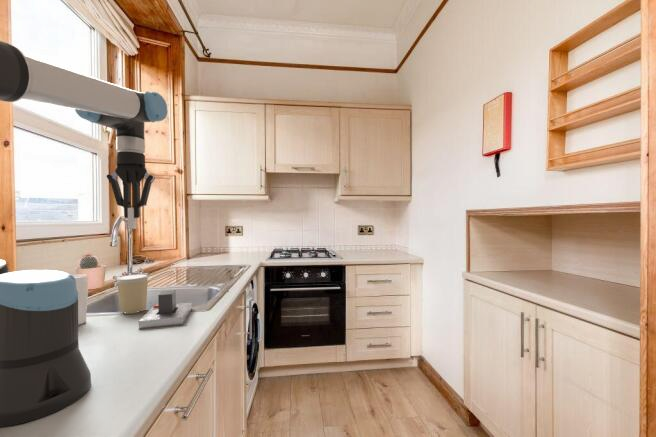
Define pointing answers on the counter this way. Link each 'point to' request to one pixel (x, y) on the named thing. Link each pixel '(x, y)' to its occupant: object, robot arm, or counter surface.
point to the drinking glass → (82, 296)
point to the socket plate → (165, 317)
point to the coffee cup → (132, 293)
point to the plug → (167, 302)
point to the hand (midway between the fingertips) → (132, 228)
